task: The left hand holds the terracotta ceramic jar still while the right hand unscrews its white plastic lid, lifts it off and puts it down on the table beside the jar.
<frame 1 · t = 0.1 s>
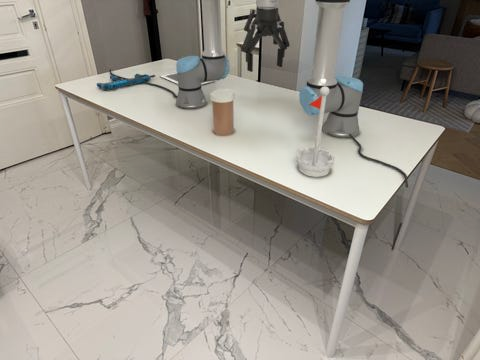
left hand: (265, 68, 132), 28 cm above the table, tool pointing down, fingers open, 13 cm apart
right hand: (263, 45, 167), 28 cm above the table, tool pointing down, fingers open, 13 cm apart
jar: (223, 131, 150), on the table
submachine gun: (125, 82, 209), on the table
flag stand: (313, 169, 123), on the table
tablet: (186, 79, 214), on the table
lid: (222, 94, 141), point 17 cm above the table, screwed on, not yet turned
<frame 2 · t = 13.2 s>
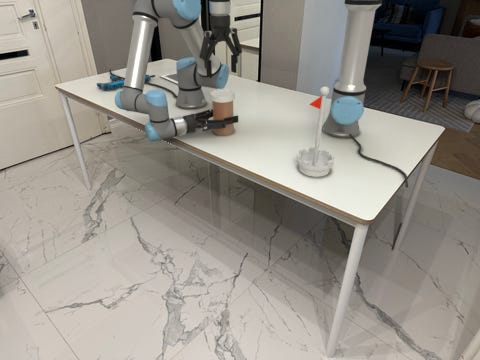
left hand: (232, 115, 148), 7 cm above the table, tool horizontal, fingers closed on jar, 9 cm apart
right hand: (221, 74, 136), 25 cm above the table, tool pointing down, fingers open, 11 cm apart
jar: (223, 131, 150), on the table, touching left hand
everything else where it was.
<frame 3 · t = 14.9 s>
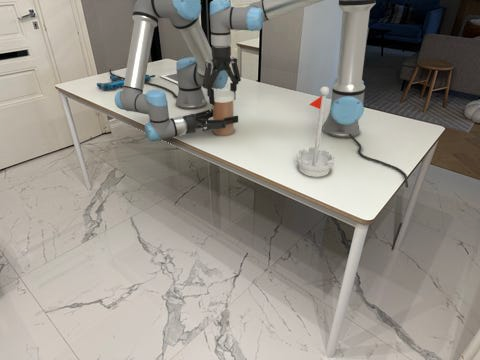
left hand: (232, 115, 148), 7 cm above the table, tool horizontal, fingers closed on jar, 9 cm apart
right hand: (222, 101, 142), 14 cm above the table, tool pointing down, fingers closed on lid, 10 cm apart
jar: (223, 131, 150), on the table, touching left hand
lid: (222, 94, 141), point 17 cm above the table, screwed on, not yet turned, touching right hand
everything else where it was.
when the right hand's fingers open (14 cm above the table, at t = 16.6 s): lid stays where it is, point 17 cm above the table.
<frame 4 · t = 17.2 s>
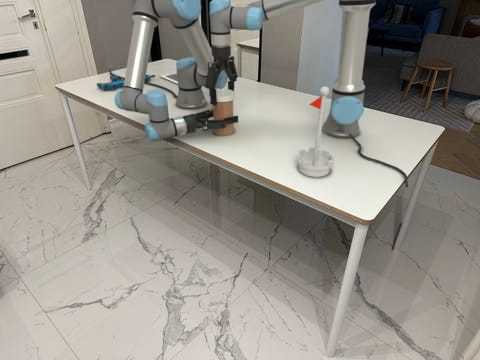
left hand: (232, 115, 148), 7 cm above the table, tool horizontal, fingers closed on jar, 9 cm apart
right hand: (222, 100, 142), 14 cm above the table, tool pointing down, fingers open, 11 cm apart
jar: (223, 131, 150), on the table, touching left hand
lid: (222, 93, 141), point 17 cm above the table, turned 98° so far, risen 0.2 cm, still on its thread
everything else where it was.
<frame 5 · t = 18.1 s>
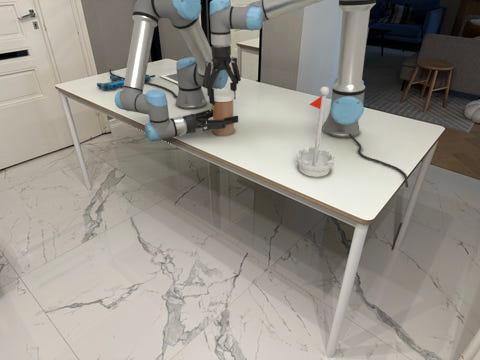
left hand: (232, 115, 148), 7 cm above the table, tool horizontal, fingers closed on jar, 9 cm apart
right hand: (222, 101, 142), 14 cm above the table, tool pointing down, fingers closed on lid, 10 cm apart
jar: (223, 131, 150), on the table, touching left hand
lid: (222, 93, 141), point 17 cm above the table, turned 98° so far, risen 0.2 cm, still on its thread, touching right hand
everything else where it was.
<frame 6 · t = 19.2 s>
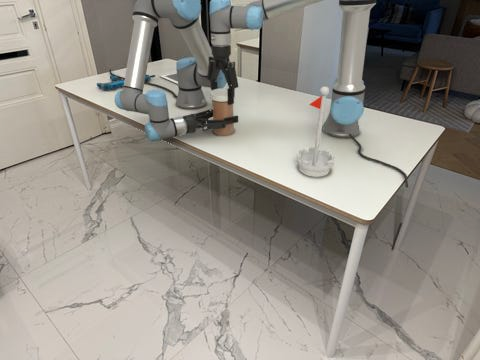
left hand: (232, 115, 148), 7 cm above the table, tool horizontal, fingers closed on jar, 9 cm apart
right hand: (222, 100, 142), 14 cm above the table, tool pointing down, fingers closed on lid, 10 cm apart
jar: (223, 131, 150), on the table, touching left hand
lid: (222, 93, 140), point 17 cm above the table, off its thread, touching right hand
everything else where it was.
when the right hand's fingers open (0 cm above the table, at t = 25.6 s): lid drops 2 cm, point 2 cm above the table.
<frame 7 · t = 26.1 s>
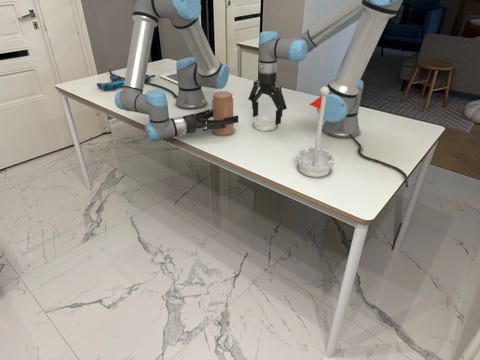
left hand: (232, 115, 148), 7 cm above the table, tool horizontal, fingers closed on jar, 9 cm apart
right hand: (266, 120, 152), 3 cm above the table, tool pointing down, fingers open, 13 cm apart
jar: (223, 131, 150), on the table, touching left hand
lid: (265, 122, 153), point 2 cm above the table, off its thread
everything else where it was.
when the left hand's fingers open (7 cm above the table, at t = 26.6 s): jar stays where it is, on the table.
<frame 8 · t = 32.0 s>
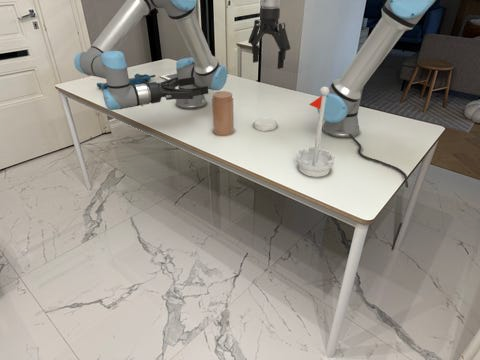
left hand: (200, 84, 134), 22 cm above the table, tool horizontal, fingers open, 13 cm apart
right hand: (267, 65, 139), 27 cm above the table, tool pointing down, fingers open, 13 cm apart
jar: (223, 131, 150), on the table
everything else where it was.
at the end: lid came off its thread; lid point 1.9 cm above the table; the left hand is holding nothing; the right hand is holding nothing; jar tilted 0°; jar moved 0.0 cm from its start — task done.
